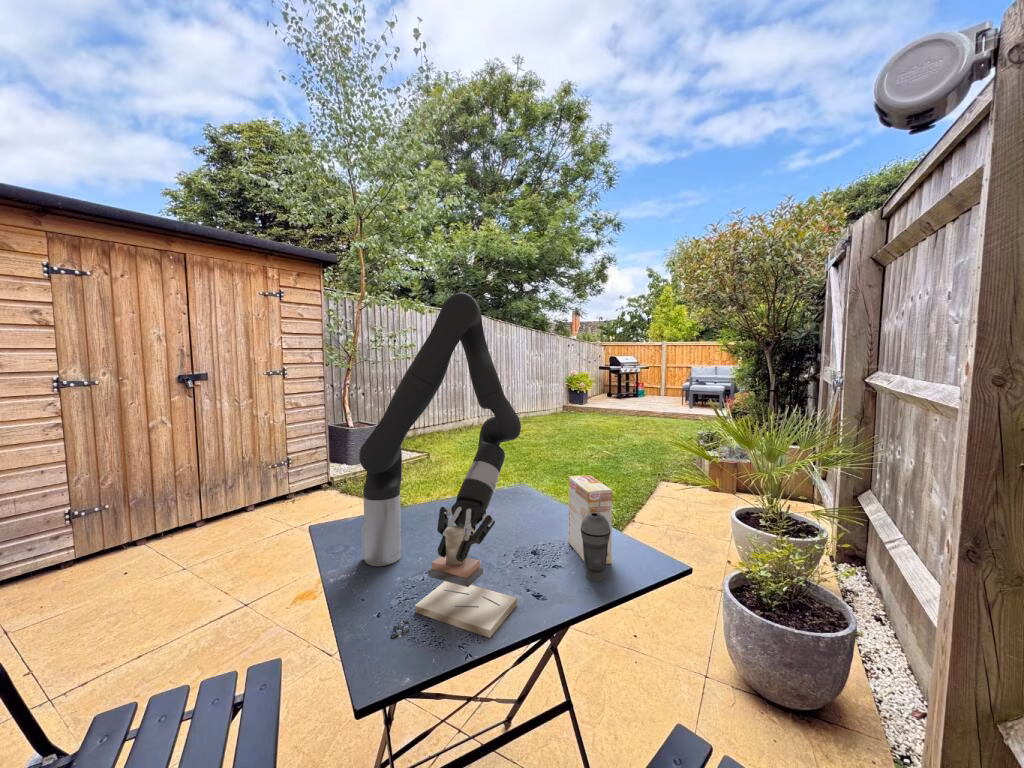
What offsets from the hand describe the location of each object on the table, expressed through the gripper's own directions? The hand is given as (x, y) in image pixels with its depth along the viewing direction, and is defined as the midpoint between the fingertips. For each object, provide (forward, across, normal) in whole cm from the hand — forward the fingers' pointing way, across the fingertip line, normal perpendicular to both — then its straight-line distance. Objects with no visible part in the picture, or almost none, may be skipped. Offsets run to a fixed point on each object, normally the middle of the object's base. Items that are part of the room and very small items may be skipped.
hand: (450, 557), depth 87 cm
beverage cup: (-11, +24, +27) cm, 38 cm away
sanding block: (+2, 0, +5) cm, 5 cm away
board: (+7, +3, +9) cm, 12 cm away
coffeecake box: (-19, +19, +36) cm, 45 cm away
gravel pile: (+15, -6, +1) cm, 16 cm away
